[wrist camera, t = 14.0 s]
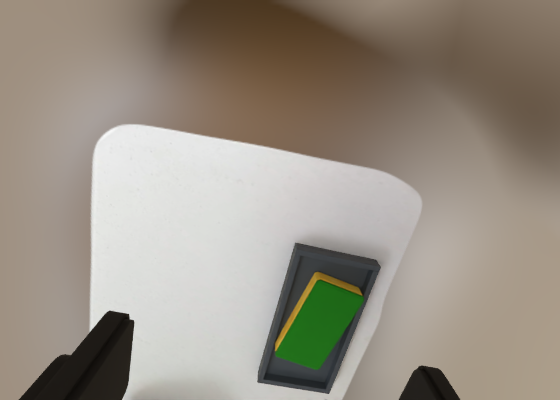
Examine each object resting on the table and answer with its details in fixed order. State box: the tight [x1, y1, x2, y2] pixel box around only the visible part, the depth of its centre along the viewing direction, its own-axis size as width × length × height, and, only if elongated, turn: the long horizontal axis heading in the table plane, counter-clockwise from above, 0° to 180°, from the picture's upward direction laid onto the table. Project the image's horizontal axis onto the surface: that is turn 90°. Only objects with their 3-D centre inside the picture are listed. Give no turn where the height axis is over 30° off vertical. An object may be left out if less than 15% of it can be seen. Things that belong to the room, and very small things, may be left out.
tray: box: [257, 243, 381, 394], centre depth 40 cm, size 24×12×2 cm, turn 166°
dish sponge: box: [275, 272, 364, 370], centre depth 39 cm, size 7×14×2 cm, turn 155°
